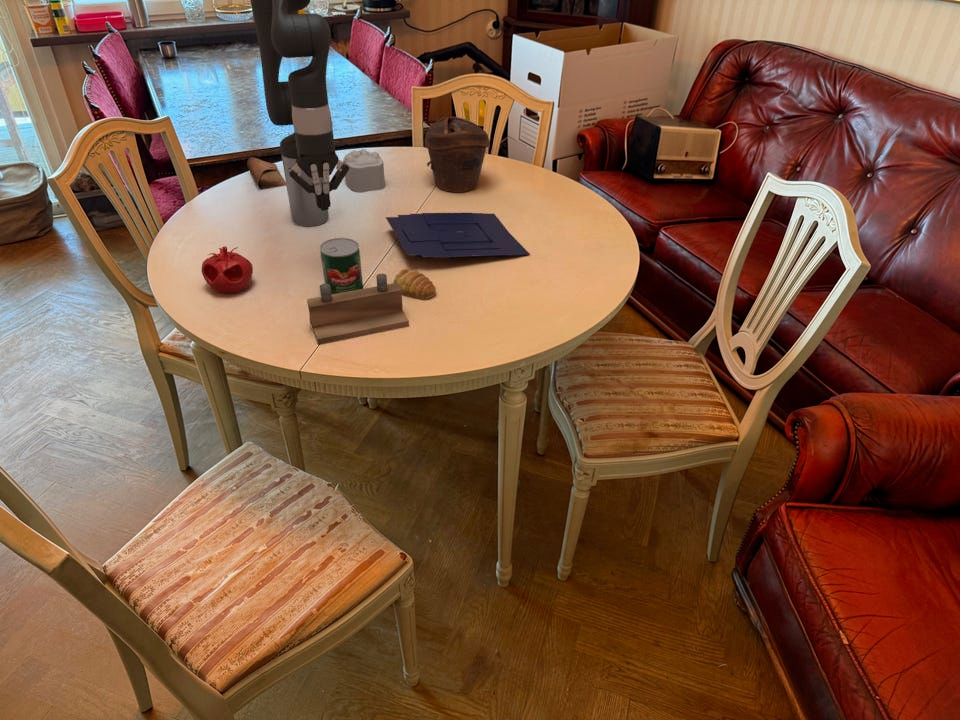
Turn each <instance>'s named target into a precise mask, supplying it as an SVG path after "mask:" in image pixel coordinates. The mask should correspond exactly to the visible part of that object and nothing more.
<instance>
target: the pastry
mask: <svg viewBox="0 0 960 720" xmlns="http://www.w3.org/2000/svg"><path fill="white" fill-rule="evenodd" d="M393 283H398V285H399V286H400V288H401V290H402V295H404V296H407V297H410V298H414V299H418V300H428V299H431V298H432V297H433V296H434V295H435V293H436V291H437V288H436V286H435V285H434V284H433V281H431V280H430V278H429V277H427V276H426V275H425V274H424V273H422V272H419V270H417V269H415V270H411V269H409V268H403V269H401V270H399V271H398V273H397V274H396V275H395V276H394V280H393Z"/></svg>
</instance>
